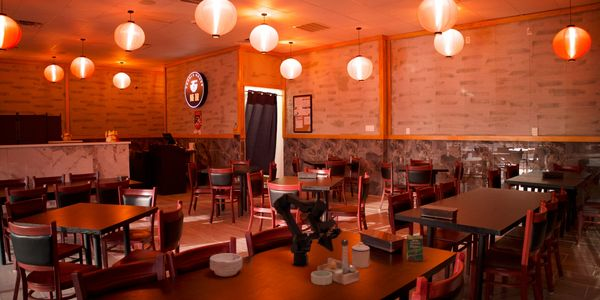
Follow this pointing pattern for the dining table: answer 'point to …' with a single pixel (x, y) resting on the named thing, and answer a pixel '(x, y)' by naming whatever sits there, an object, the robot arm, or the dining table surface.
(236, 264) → the paper bowls
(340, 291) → the dining table surface
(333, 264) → the ball
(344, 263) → the lever
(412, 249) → the coffee box
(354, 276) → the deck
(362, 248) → the teacup with lid
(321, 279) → the small white bowl
